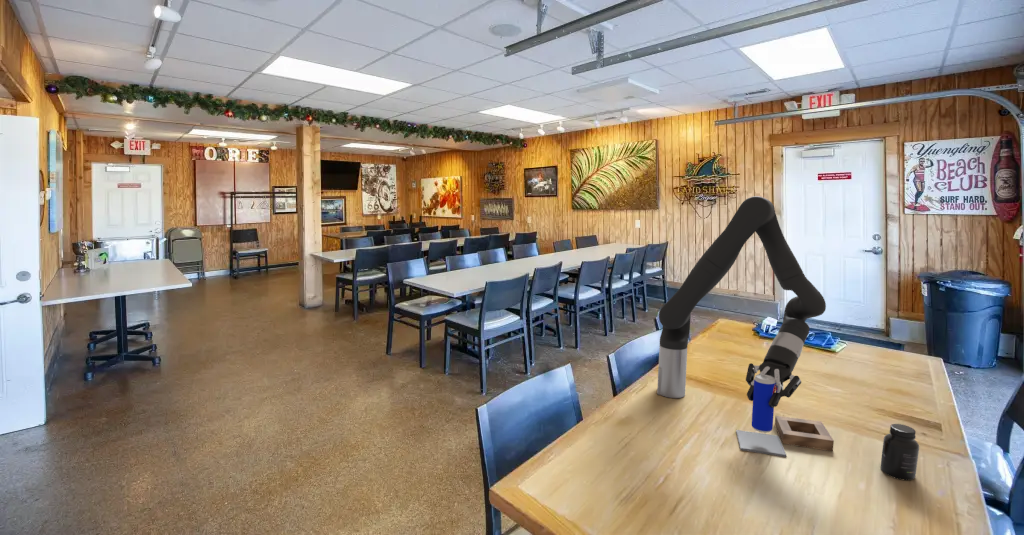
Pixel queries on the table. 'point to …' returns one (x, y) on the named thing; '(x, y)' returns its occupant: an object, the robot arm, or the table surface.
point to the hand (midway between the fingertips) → (760, 402)
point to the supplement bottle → (900, 452)
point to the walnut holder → (790, 437)
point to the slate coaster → (760, 443)
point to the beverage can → (763, 403)
